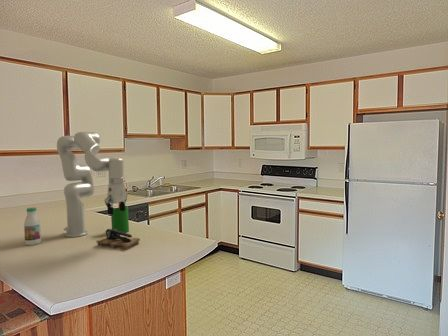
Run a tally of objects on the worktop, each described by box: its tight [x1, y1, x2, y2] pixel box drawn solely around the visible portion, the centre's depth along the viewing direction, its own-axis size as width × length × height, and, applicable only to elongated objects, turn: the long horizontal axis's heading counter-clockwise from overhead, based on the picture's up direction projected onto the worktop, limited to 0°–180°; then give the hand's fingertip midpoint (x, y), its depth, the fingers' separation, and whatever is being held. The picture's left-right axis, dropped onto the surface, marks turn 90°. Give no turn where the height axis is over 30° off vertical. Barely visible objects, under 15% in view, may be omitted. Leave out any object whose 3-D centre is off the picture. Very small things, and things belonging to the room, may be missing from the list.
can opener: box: [105, 228, 133, 242], centre depth 176 cm, size 18×7×6 cm, turn 61°
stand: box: [95, 236, 141, 251], centre depth 177 cm, size 20×11×3 cm, turn 69°
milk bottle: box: [23, 206, 42, 246], centre depth 181 cm, size 8×8×20 cm
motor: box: [110, 202, 130, 234], centre depth 203 cm, size 10×9×20 cm
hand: (116, 212), depth 176 cm, fingers open, 9 cm apart
